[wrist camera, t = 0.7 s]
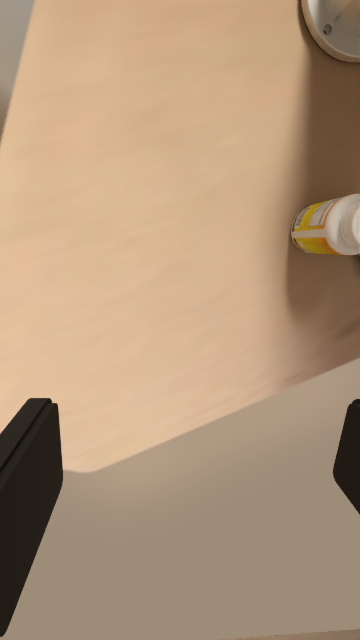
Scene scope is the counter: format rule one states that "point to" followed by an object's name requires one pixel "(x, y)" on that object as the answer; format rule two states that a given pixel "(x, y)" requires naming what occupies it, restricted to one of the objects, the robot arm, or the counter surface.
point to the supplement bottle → (329, 227)
